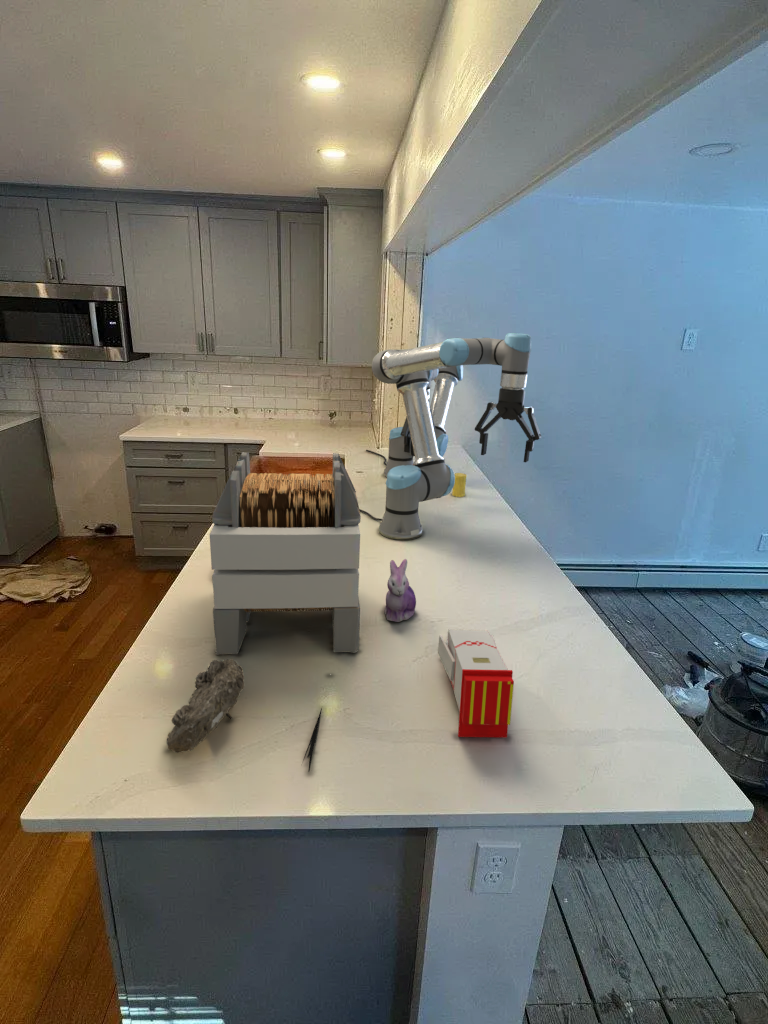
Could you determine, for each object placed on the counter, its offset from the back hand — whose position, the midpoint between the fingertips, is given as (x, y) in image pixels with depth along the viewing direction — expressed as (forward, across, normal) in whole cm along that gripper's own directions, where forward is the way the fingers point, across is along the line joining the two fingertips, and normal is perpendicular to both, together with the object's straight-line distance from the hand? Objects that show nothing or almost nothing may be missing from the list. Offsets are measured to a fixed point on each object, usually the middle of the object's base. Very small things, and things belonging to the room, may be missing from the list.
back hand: (417, 449), depth 239 cm
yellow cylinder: (+19, +11, -15) cm, 27 cm away
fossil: (+16, -139, -64) cm, 154 cm away
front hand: (-15, -32, -59) cm, 69 cm away
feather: (+16, -126, -78) cm, 149 cm away
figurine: (+17, -84, -63) cm, 107 cm away
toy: (+16, -98, -94) cm, 137 cm away
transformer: (+17, -105, -45) cm, 116 cm away
